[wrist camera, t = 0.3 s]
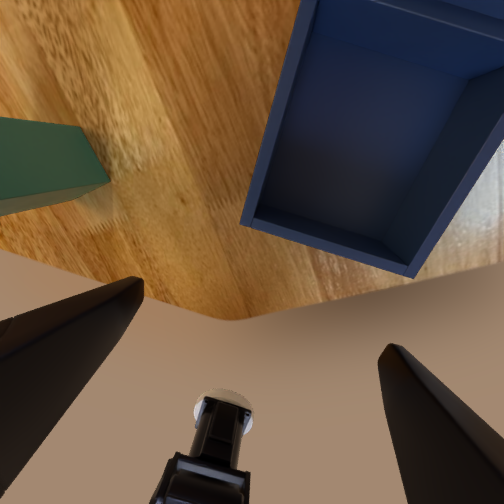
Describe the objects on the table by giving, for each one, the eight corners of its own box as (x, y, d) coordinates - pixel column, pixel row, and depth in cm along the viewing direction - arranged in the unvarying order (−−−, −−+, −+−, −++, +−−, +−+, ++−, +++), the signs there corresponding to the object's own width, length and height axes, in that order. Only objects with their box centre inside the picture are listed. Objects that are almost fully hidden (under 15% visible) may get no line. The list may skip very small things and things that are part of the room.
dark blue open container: (382, 248, 22) (414, 279, 17) (250, 207, 22) (238, 224, 17) (478, 74, 17) (569, 37, 11) (303, 19, 17) (312, -43, 11)
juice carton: (111, 181, 23) (-79, 213, 11) (71, 200, 24) (-138, 247, 12) (79, 126, 21) (-181, 93, 9) (39, 149, 23) (-236, 146, 11)
